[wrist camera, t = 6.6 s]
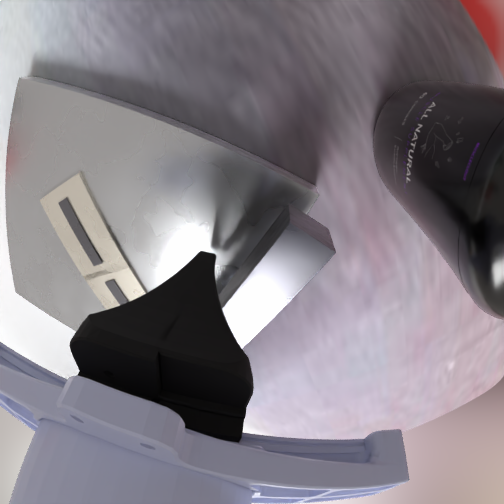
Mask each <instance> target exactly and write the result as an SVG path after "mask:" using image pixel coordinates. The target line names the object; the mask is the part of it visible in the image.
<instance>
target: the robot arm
mask: <svg viewBox="0 0 504 504" xmlns="http://www.w3.org/2000/svg"><path fill="white" fill-rule="evenodd" d="M216 257H217V256H216V255H215V254H214V253H210V252H205V251H200V252H198V253H197V254H196V255H195V256H194V257H193V258H192V259H191V260H190V261H189V262H188V263H187V264H186V265H185V266H184V267H182V268H181V269H180V270H179V271H178V272H177V273H175V274H174V275H173V276H171V277H170V278H169V279H167V280H166V281H165V282H163V283H162V284H160V285H159V286H157V287H156V288H154V289H153V290H151V291H149V292H148V293H146V294H144V295H142V296H140V297H138V298H136V299H134V300H132V301H130V302H127V303H125V304H122V305H120V306H117V307H114V308H111V309H108V310H104V311H100V312H97V313H93V314H89V315H88V316H87V318H86V319H85V320H84V321H83V322H82V324H81V325H80V327H79V328H78V330H77V331H76V333H75V335H74V336H73V338H72V339H71V341H70V349H71V352H72V355H73V357H74V359H75V361H76V364H77V366H78V368H79V370H80V372H79V374H78V375H77V376H73V377H69V378H68V380H67V379H65V378H63V377H61V376H59V375H57V374H55V373H53V372H51V371H49V370H47V369H45V368H43V367H41V366H39V365H38V364H36V363H34V362H32V361H30V360H29V359H27V358H25V357H23V356H22V355H20V354H18V353H17V352H15V351H14V350H12V349H10V348H9V347H7V346H6V345H4V344H3V343H1V342H0V406H1V407H3V408H4V409H5V410H6V411H8V412H9V413H10V414H12V415H13V416H14V417H16V418H17V419H18V420H20V421H21V422H23V423H24V424H25V425H27V426H28V427H30V428H31V429H32V430H34V431H35V434H34V437H33V439H32V441H31V444H30V446H29V449H28V451H27V454H26V456H25V459H24V462H23V464H22V467H21V470H20V472H19V475H18V478H17V481H16V484H15V487H14V490H13V493H12V497H11V500H10V503H9V504H251V503H267V504H269V503H270V504H284V503H285V504H286V503H310V502H323V501H333V500H342V499H350V498H358V497H364V496H371V495H375V494H378V493H380V492H383V491H386V490H388V489H391V488H393V487H396V486H398V485H401V484H403V483H406V482H408V481H409V474H408V467H407V461H406V454H405V449H404V443H403V437H402V432H401V430H400V429H396V430H382V431H376V432H373V433H371V434H369V435H368V436H367V437H366V438H365V439H350V440H322V439H298V438H284V437H273V436H264V435H256V434H249V433H242V431H243V423H244V418H245V415H246V407H247V405H248V403H249V401H250V399H251V396H252V394H253V376H252V371H251V366H250V362H249V358H248V357H247V355H246V354H245V353H244V351H243V350H242V348H241V347H240V345H239V343H238V342H237V340H236V338H235V337H234V335H233V333H232V331H231V329H230V327H229V325H228V323H227V320H226V318H225V315H224V313H223V310H222V307H221V304H220V300H219V296H218V292H217V287H216V280H215V263H216Z"/></svg>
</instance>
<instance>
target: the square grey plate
mask: <svg viewBox="0 0 504 504" xmlns="http://www.w3.org/2000/svg"><path fill="white" fill-rule="evenodd" d="M318 197H319V193H318V190H317V188H316V186H314V185H312V184H311V183H309V182H307V181H305V180H303V179H301V178H299V177H297V176H296V175H294V174H292V173H290V172H288V171H286V170H284V169H282V168H280V167H278V166H276V165H274V164H272V163H270V162H268V161H266V160H264V159H262V158H260V157H258V156H256V155H254V154H252V153H250V152H248V151H246V150H243V149H241V148H239V147H237V146H235V145H233V144H230V143H228V142H226V141H224V140H222V139H219V138H217V137H215V136H212V135H210V134H208V133H206V132H203V131H201V130H198V129H196V128H194V127H191V126H189V125H186V124H184V123H181V122H179V121H176V120H174V119H171V118H169V117H166V116H164V115H161V114H158V113H156V112H153V111H150V110H147V109H145V108H142V107H139V106H136V105H133V104H130V103H127V102H125V101H122V100H119V99H115V98H112V97H109V96H106V95H103V94H100V93H96V92H93V91H90V90H86V89H83V88H79V87H76V86H72V85H68V84H64V83H60V82H56V81H52V80H48V79H44V78H40V77H35V76H28V77H21V78H19V80H18V84H17V89H16V93H15V98H14V103H13V109H12V115H11V121H10V129H9V137H8V147H7V159H6V185H5V198H6V223H7V236H8V246H9V255H10V262H11V269H12V275H13V281H14V286H15V291H16V293H18V294H19V295H20V296H22V297H23V298H25V299H26V300H28V301H29V302H31V303H32V304H33V305H35V306H36V307H38V308H39V309H41V310H42V311H44V312H46V313H47V314H49V315H50V316H52V317H53V318H55V319H57V320H58V321H60V322H62V323H63V324H65V325H67V326H68V327H70V328H72V329H73V330H75V331H77V330H78V328H79V327H80V325H81V324H82V322H83V321H84V320H85V319H86V318H87V316H88V315H89V314H93V313H97V312H100V311H104V310H108V309H111V308H114V307H117V306H120V305H122V304H125V303H127V302H130V301H132V300H134V299H136V298H138V297H140V296H142V295H144V294H146V293H148V292H149V291H151V290H153V289H154V288H156V287H157V286H159V285H160V284H162V283H163V282H165V281H166V280H167V279H169V278H170V277H171V276H173V275H174V274H175V273H177V272H178V271H179V270H180V269H181V268H182V267H184V266H185V265H186V264H187V263H188V262H189V261H190V260H191V259H192V258H193V257H194V256H195V255H196V254H197V253H198V252H200V251H205V252H210V253H214V254H215V255H216V256H217V257H216V263H215V280H216V287H217V292H218V296H219V294H220V293H221V292H222V290H223V289H224V288H225V286H226V285H227V284H228V282H229V281H230V280H231V278H232V277H233V276H234V274H235V273H236V272H237V270H238V269H239V268H240V266H241V265H242V264H243V262H244V261H245V260H246V258H247V257H248V256H249V254H250V253H251V252H252V251H253V249H254V248H255V247H256V245H257V244H258V243H259V241H260V240H261V239H262V237H263V236H264V235H265V233H266V232H267V231H268V229H269V228H270V227H271V225H272V224H273V223H274V221H275V220H276V219H277V217H278V216H279V215H280V213H281V212H282V211H283V209H284V208H285V207H286V205H287V204H288V203H290V204H291V205H293V206H294V207H296V208H297V209H299V210H301V211H302V212H304V213H305V214H308V212H309V211H310V209H311V208H312V206H313V204H314V203H315V201H316V200H317V198H318Z"/></svg>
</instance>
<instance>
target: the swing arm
mask: <svg viewBox="0 0 504 504" xmlns="http://www.w3.org/2000/svg"><path fill="white" fill-rule="evenodd" d="M335 253H336V251H335V248H334V245H333V242H332V239H331V236H330V233H329V230H328V229H327V228H326V227H324V226H323V225H321V224H320V223H319V222H317V221H316V220H314V219H313V218H311V217H310V216H308V215H307V214H305V213H304V212H302V211H301V210H299V209H297V208H296V207H294V206H293V205H291V204H290V203H288V204H287V205H286V207H285V208H284V209H283V211H282V212H281V213H280V215H279V216H278V217H277V219H276V220H275V221H274V223H273V224H272V225H271V227H270V228H269V229H268V231H267V232H266V233H265V235H264V236H263V237H262V239H261V240H260V241H259V243H258V244H257V245H256V247H255V248H254V249H253V251H252V252H251V253H250V254H249V256H248V257H247V258H246V260H245V261H244V262H243V264H242V265H241V266H240V268H239V269H238V270H237V272H236V273H235V274H234V276H233V277H232V278H231V280H230V281H229V282H228V284H227V285H226V286H225V288H224V289H223V290H222V292H221V293H220V294H219V300H220V304H221V307H222V310H223V313H224V315H225V318H226V320H227V323H228V325H229V327H230V329H231V331H232V333H233V335H234V337H235V338H236V340H237V342H238V343H239V345H240V347H241V348H243V347H244V346H245V345H246V344H247V343H248V342H249V341H250V340H252V339H253V338H254V337H255V336H256V335H257V334H258V333H259V332H260V331H261V330H262V329H263V328H264V327H265V326H266V325H267V324H268V323H269V322H270V321H271V320H272V319H273V318H274V317H275V316H276V315H277V314H278V313H279V312H280V311H281V310H282V309H283V308H284V307H285V306H286V305H287V304H288V303H289V302H290V301H291V300H292V299H293V298H294V297H295V296H296V295H297V294H298V293H299V292H300V291H301V290H302V288H303V287H304V286H305V285H306V284H307V283H308V282H309V281H310V280H311V279H312V278H313V277H314V276H315V275H316V274H317V273H318V272H319V271H320V269H321V268H322V267H323V266H324V265H325V264H326V263H327V262H328V261H329V260H330V259H331V257H332V256H333V255H334V254H335Z"/></svg>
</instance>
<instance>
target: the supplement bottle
mask: <svg viewBox="0 0 504 504" xmlns="http://www.w3.org/2000/svg"><path fill="white" fill-rule="evenodd" d="M374 156H375V162H376V166H377V169H378V172H379V175H380V177H381V179H382V181H383V182H384V184H385V186H386V187H387V189H388V190H389V191H390V193H391V194H392V195H393V196H394V197H395V199H396V200H397V201H398V202H399V203H400V205H401V206H402V207H403V208H404V209H405V210H406V211H407V213H408V214H409V215H410V216H411V217H412V218H413V220H414V221H415V222H416V223H417V224H418V226H419V227H420V228H421V229H422V231H423V232H424V233H425V234H426V236H427V237H428V238H429V239H430V241H431V242H432V243H433V245H434V246H435V247H436V248H437V250H438V251H439V252H440V254H441V255H442V256H443V258H444V259H445V261H446V262H447V263H448V265H449V266H450V268H451V269H452V270H453V272H454V273H455V275H456V276H457V278H458V279H459V281H460V282H461V284H462V285H463V287H464V288H465V290H466V291H467V293H468V294H469V295H470V297H471V298H472V299H473V301H474V302H475V303H476V304H477V306H478V307H479V308H481V309H482V310H483V311H484V312H486V313H487V314H489V315H491V316H493V317H496V318H499V319H502V320H504V89H502V88H497V87H491V86H485V85H478V84H470V83H462V82H451V81H438V80H437V81H435V80H426V81H418V82H414V83H410V84H408V85H406V86H404V87H402V88H401V89H399V90H398V91H397V92H395V93H394V94H393V95H392V96H391V97H390V98H389V100H388V101H387V102H386V103H385V105H384V107H383V108H382V110H381V112H380V114H379V117H378V120H377V123H376V127H375V132H374Z"/></svg>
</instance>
